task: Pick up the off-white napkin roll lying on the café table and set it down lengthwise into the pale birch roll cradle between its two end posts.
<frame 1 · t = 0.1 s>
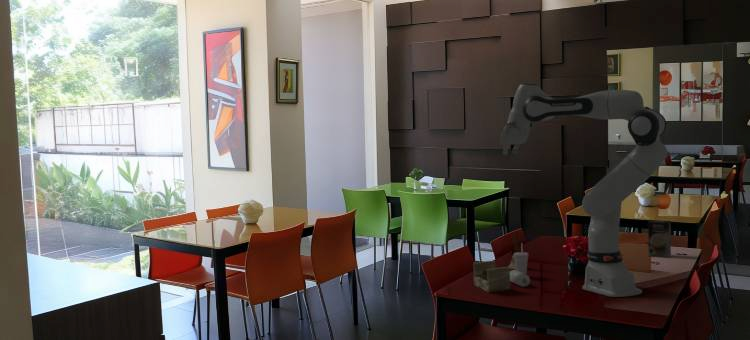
hand: (509, 153, 271), 52 cm above the table, tool tilted 20°, fingers open, 8 cm apart
hand bell: (517, 268, 292), on the table
roll: (518, 278, 263), point 2 cm above the table
smoothie: (521, 276, 276), on the table
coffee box: (659, 256, 303), on the table
holder: (491, 287, 260), on the table
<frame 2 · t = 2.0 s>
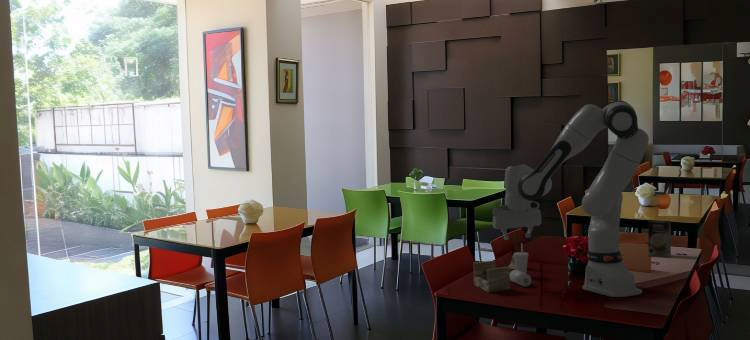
hand: (517, 238, 262), 18 cm above the table, tool pointing down, fingers open, 8 cm apart
roll: (520, 278, 263), point 2 cm above the table, tilted 15°
everything else where it was.
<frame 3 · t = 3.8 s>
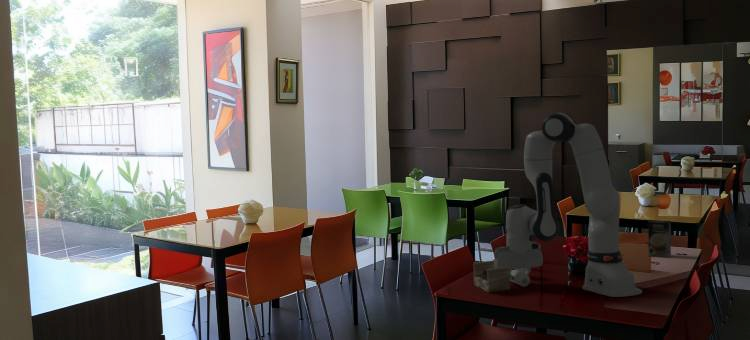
hand: (518, 279, 263), 2 cm above the table, tool pointing down, fingers closed on roll, 5 cm apart
roll: (518, 278, 263), point 2 cm above the table, touching gripper
everything else where it was.
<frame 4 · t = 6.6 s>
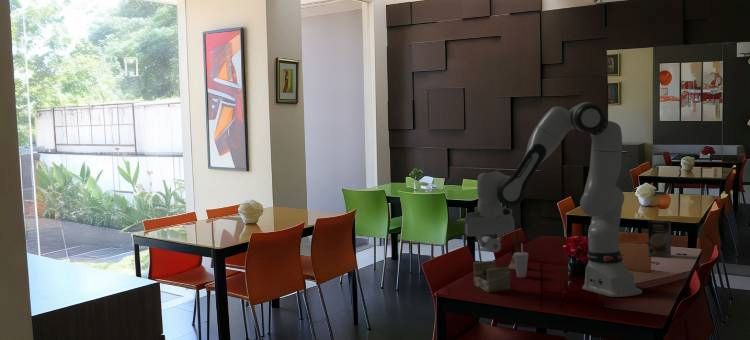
hand: (490, 245, 259), 17 cm above the table, tool pointing down, fingers closed on roll, 5 cm apart
roll: (490, 244, 259), point 17 cm above the table, touching gripper
everything else where it was.
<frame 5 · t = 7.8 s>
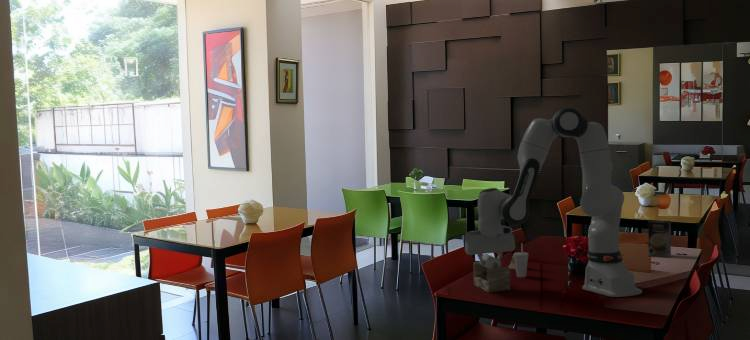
hand: (490, 263, 260), 9 cm above the table, tool pointing down, fingers closed on roll, 5 cm apart
roll: (490, 262, 260), point 10 cm above the table, touching gripper
everything else where it was.
when the fingers open (5 cm above the table, at t = 9.0 s): roll drops 2 cm, resting on holder.
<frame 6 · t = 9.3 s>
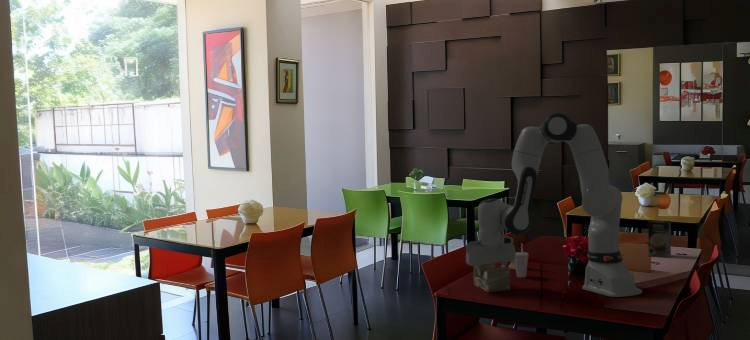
hand: (491, 274, 260), 5 cm above the table, tool pointing down, fingers open, 8 cm apart
roll: (491, 278, 260), point 3 cm above the table, touching holder
everything else where it was.
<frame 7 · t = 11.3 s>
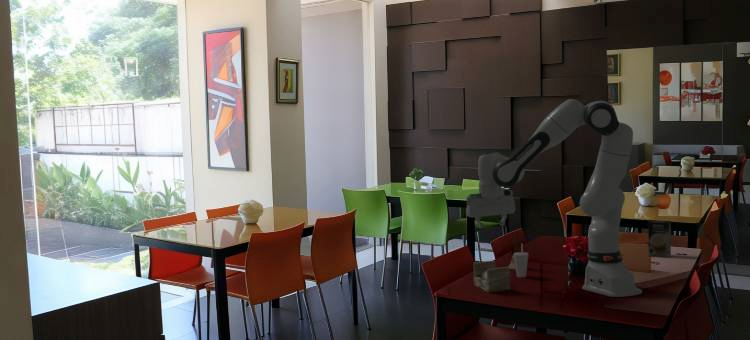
hand: (491, 226, 264), 23 cm above the table, tool pointing down, fingers open, 8 cm apart
nothing on the table moved.
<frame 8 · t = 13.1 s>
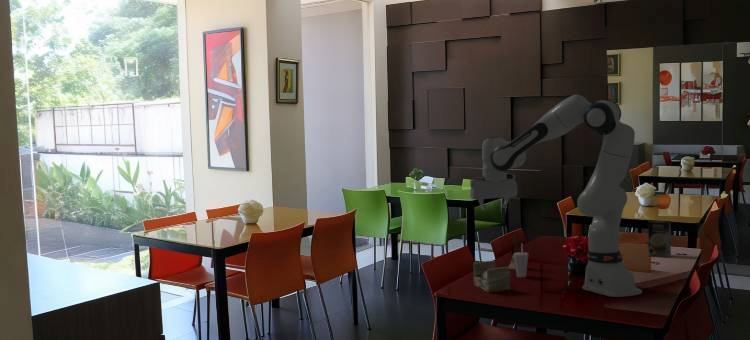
hand: (494, 208, 274), 29 cm above the table, tool pointing down, fingers open, 8 cm apart
nothing on the table moved.
at the end: roll inside the target area on the holder (0.1 cm from its centre), point 3.5 cm above the holder's base; the gripper is holding nothing; roll touching holder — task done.
